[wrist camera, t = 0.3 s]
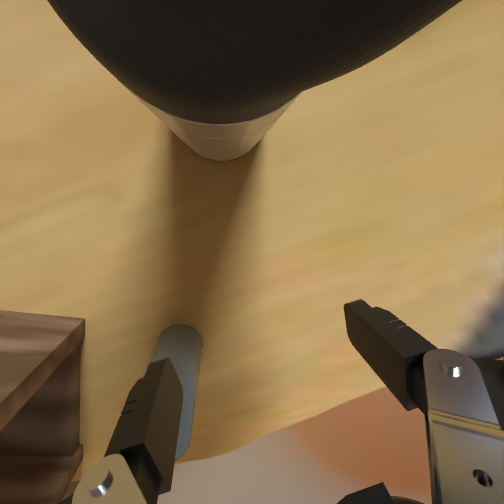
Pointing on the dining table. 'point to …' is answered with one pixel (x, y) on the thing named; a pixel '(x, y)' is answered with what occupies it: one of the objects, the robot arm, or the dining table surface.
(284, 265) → the dining table surface
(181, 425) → the grey cylinder
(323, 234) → the dining table surface
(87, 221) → the dining table surface
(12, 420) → the open wooden box frame
